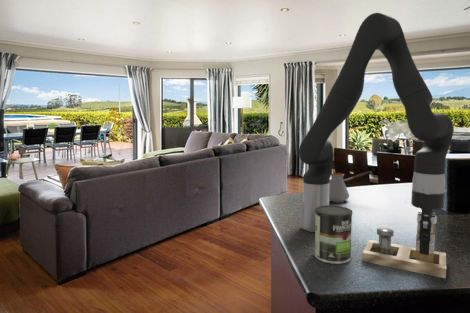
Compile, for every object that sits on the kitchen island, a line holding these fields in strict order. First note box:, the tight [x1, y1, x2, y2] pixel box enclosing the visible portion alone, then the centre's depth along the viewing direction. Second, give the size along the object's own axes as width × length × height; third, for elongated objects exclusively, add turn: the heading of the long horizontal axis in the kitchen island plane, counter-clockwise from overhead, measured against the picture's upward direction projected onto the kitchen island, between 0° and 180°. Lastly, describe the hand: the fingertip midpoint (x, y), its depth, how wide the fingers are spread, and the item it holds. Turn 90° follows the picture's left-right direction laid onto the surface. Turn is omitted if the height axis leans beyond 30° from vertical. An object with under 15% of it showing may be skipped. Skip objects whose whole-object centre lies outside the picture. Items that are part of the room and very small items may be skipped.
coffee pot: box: [329, 170, 373, 203], centre depth 156 cm, size 21×12×15 cm, turn 71°
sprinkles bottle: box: [414, 213, 438, 263], centre depth 89 cm, size 5×5×14 cm
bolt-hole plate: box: [361, 239, 447, 279], centre depth 92 cm, size 20×11×2 cm, turn 58°
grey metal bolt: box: [376, 227, 395, 255], centre depth 95 cm, size 4×4×8 cm
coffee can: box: [314, 204, 353, 265], centre depth 96 cm, size 10×10×14 cm
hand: (424, 250), depth 89 cm, fingers closed on sprinkles bottle, 4 cm apart
